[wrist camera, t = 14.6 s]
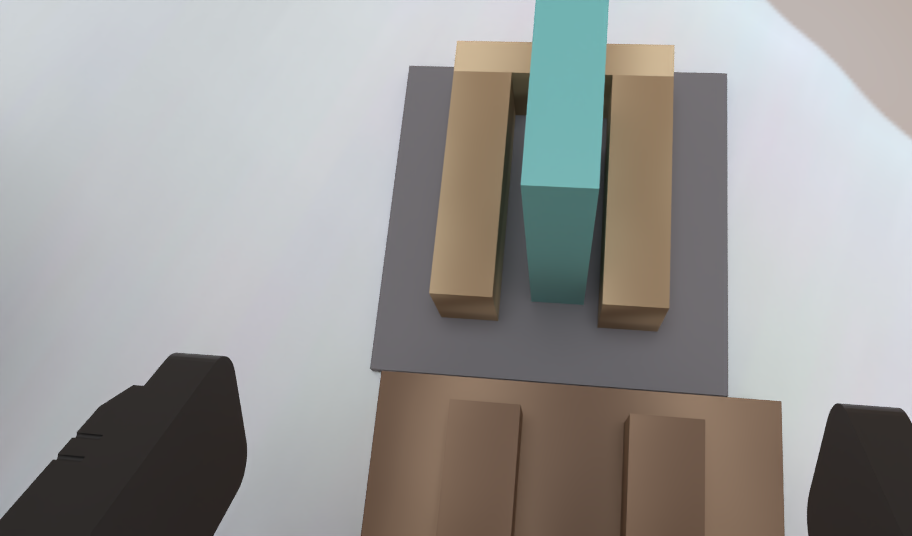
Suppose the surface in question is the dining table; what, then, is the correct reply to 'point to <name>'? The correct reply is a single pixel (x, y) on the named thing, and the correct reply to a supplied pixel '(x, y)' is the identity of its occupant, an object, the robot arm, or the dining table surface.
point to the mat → (575, 326)
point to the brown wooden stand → (569, 461)
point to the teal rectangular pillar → (563, 145)
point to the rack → (625, 182)
